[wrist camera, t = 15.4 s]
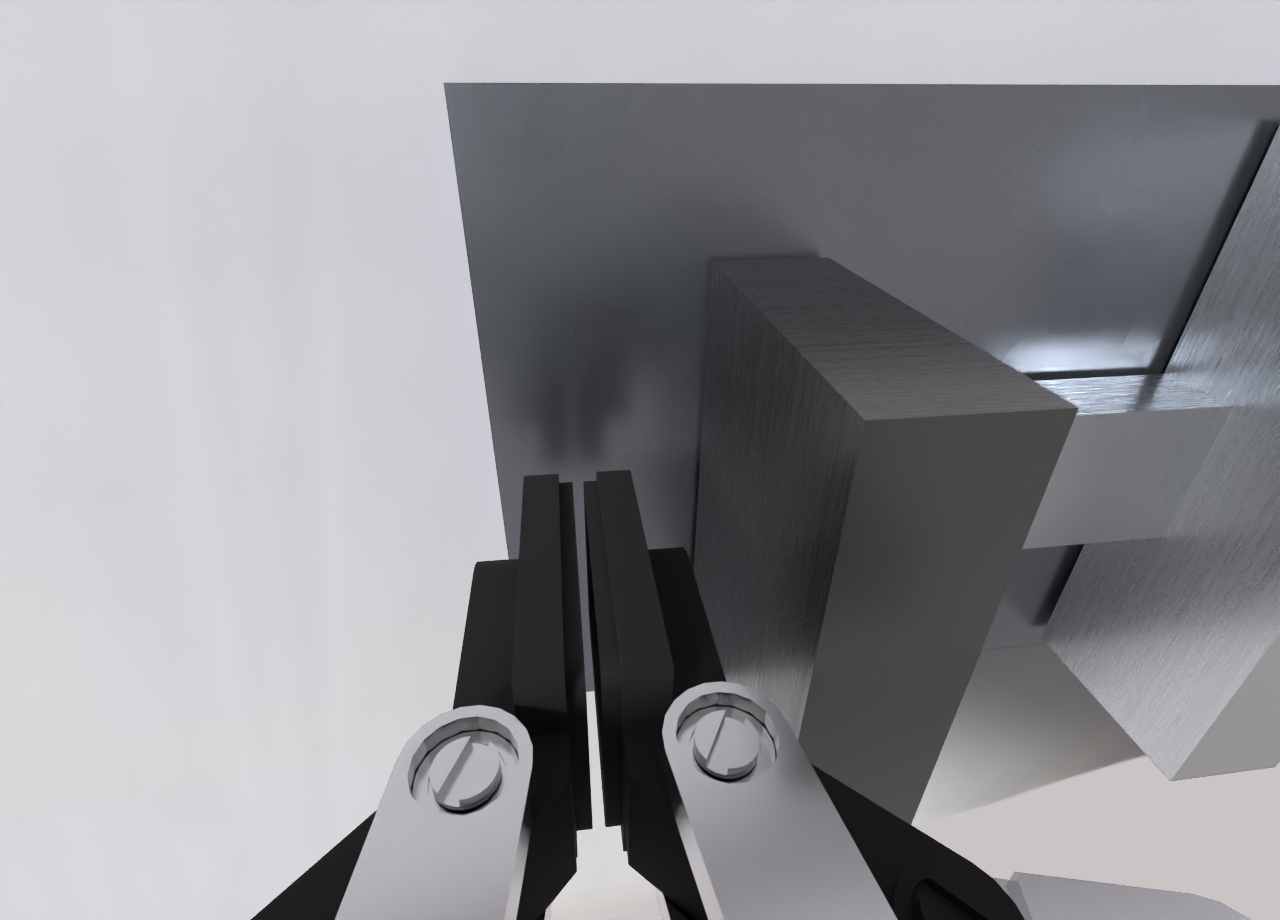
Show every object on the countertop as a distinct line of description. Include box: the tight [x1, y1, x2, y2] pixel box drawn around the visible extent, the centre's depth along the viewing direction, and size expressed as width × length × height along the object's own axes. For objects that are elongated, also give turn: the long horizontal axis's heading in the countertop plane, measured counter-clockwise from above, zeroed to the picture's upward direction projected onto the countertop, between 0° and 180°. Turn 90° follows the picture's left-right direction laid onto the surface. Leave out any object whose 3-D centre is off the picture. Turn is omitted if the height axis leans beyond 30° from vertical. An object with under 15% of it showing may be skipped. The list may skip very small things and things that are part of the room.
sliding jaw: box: [693, 126, 1280, 825], centre depth 11 cm, size 12×12×6 cm
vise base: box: [444, 83, 1280, 692], centre depth 13 cm, size 28×13×6 cm, turn 90°
